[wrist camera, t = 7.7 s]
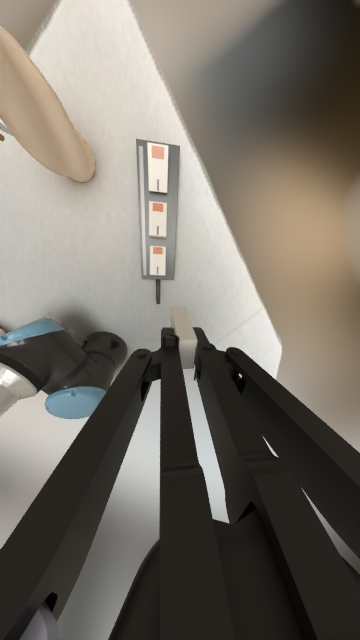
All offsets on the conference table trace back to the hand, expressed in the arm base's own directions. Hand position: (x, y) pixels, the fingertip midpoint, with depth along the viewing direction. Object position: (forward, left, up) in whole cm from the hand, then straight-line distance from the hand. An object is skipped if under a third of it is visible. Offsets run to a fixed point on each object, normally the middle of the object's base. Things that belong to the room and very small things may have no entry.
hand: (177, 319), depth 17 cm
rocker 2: (-3, +13, -27) cm, 30 cm away
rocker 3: (-3, +4, -27) cm, 27 cm away
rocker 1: (-3, +22, -27) cm, 35 cm away
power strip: (-3, +9, -32) cm, 34 cm away
